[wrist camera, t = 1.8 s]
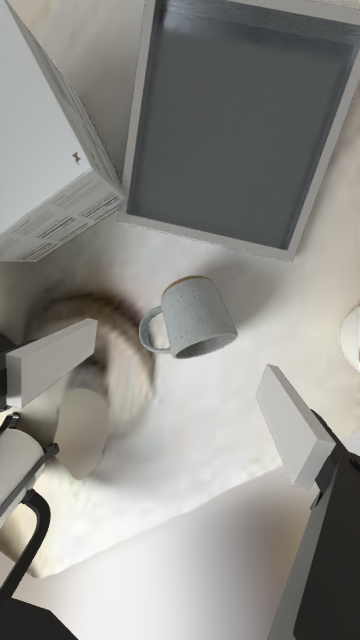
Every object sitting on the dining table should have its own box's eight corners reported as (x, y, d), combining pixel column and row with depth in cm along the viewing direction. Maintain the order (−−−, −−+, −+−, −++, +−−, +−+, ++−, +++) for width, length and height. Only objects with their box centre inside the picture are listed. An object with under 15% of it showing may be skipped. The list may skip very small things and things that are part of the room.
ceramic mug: (205, 297, 30) (221, 264, 23) (225, 349, 27) (250, 330, 20) (134, 312, 27) (126, 281, 20) (147, 371, 25) (145, 358, 18)
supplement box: (76, 91, 23) (-2, -18, 14) (132, 202, 26) (95, 168, 17) (-22, 173, 27) (-135, 125, 18) (35, 263, 29) (-38, 262, 20)
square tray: (123, 224, 27) (117, 220, 25) (153, -2, 21) (148, -30, 19) (285, 261, 26) (292, 261, 24) (365, 38, 20) (383, 13, 18)
